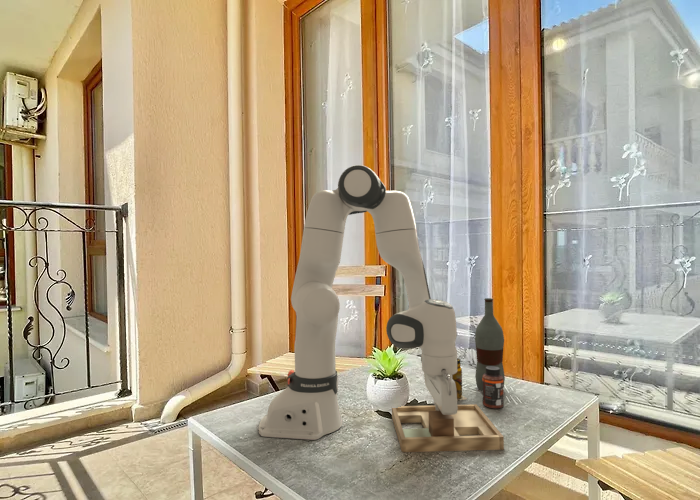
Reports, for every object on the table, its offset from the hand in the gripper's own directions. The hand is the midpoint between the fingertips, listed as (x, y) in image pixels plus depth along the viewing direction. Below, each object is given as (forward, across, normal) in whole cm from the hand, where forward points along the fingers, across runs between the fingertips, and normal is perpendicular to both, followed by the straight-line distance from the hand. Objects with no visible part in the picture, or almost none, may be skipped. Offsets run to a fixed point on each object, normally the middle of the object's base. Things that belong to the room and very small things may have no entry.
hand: (440, 418), depth 107 cm
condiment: (+4, +26, -9) cm, 28 cm away
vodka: (+4, +32, -24) cm, 40 cm away
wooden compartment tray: (+4, +1, -1) cm, 5 cm away
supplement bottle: (+4, +18, -20) cm, 27 cm away
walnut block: (+2, -4, +1) cm, 5 cm away
